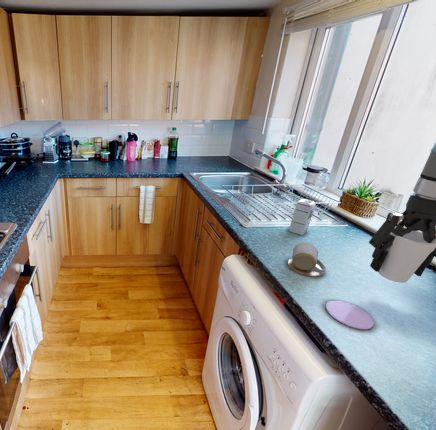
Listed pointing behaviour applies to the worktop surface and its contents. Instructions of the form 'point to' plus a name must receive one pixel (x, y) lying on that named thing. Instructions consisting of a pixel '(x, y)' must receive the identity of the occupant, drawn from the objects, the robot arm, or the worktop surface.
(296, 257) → the ceramic mug
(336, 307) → the lilac coaster
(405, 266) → the foam cup
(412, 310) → the worktop surface
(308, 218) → the syrup box
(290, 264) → the cork coaster
